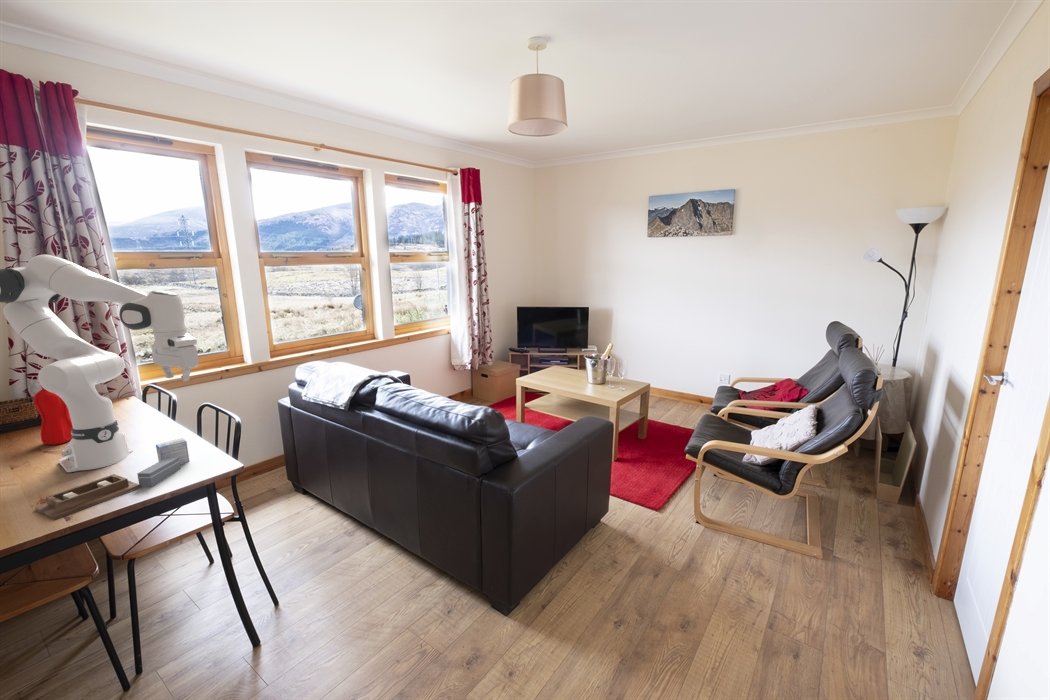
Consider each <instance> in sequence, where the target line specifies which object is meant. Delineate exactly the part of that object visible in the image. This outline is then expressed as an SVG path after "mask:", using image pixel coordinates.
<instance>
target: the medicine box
mask: <svg viewBox="0 0 1050 700" xmlns="http://www.w3.org/2000/svg"><path fill="white" fill-rule="evenodd" d="M155 448H156V454H157V459H158V462H160V461H161V460H163V459H165V458H167V457H179V461H180V465H183V464H186V463H189V462H190V455H189V448H188V441H187V440H186V439H184V438H177V439H174V440H169V441H165V442H161V443H157V444H156V445H155Z"/></svg>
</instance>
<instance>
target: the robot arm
mask: <svg viewBox="0 0 1050 700" xmlns="http://www.w3.org/2000/svg"><path fill="white" fill-rule="evenodd" d="M60 297H64V298H67V299H70V300H73V301H78V302H110V303H111V302H112V303H117V304H122V306H121V307H120V309H119V311H118V312H119V313H118V314H119V315H118V316H119V320H120V322H121V324H122V325H123V326H124V327H125V328H127V329H129V330H131V331H144V330H153V338H154V341H153V344H152V345H151V346H152V347H151V353H152V354H151V355H152V361H153V364H154V365H156V366H157V365H158V366H160V367H161V369H162V371H163V373H164V375H165V378H166V379H172V378H174V372H173V371H172V369H171V368H179V369H180V370H181V371H182V375H180V378H181V381H184V382H187V381H191V380H190V379H191V378H190V377H191V376H190V375H191V371H192V369H195V368H197V367H198V366H199V356H198V355H199V354H198V353H199V352H198V349H197V347H196V346H197V344H198V341H197V338H196V337H195V336H192V335H191V334H190V333H188V330H187V326H186V324H185V318H186V317H185V310H184V306H183V301H182V298H181V297H180V295H179V294H178V293H176V292H174V291H171V290H159V289H158V290H152V291H151V290H150V291H149V292H148V293H146V292H144V291H141V290H139V289H136V288H134V287H131V286H129V285H126V284H123V283H121V282H119V281H116V280H113V279H110V278H108V277H105V276H103V275H101V274H99V273H96V272H94V271H91V270H90V269H87V268H85V267H84V266H83V267H82V266H81V265H79V264H77V263H74V262H72V261H71V260H70V261H69V260H67V259H64V258H62V257H59V256H55V255H51V254H38V255H35V256H33V257H32V258H30V259H29V261H28V262H27V263H26V266H18V267H11V268H10V267H9V268H0V303H2V304H3V303H6V304H5V306H4V307H3V310H2V313H3V316H4V317H5V319H6V320H7V322H8V323H9V325H10V326H11V328H12V329H13V330H14V332H16V334H18V336H19V337H21V338H22V339H23V340H24V341H25V343H26V344H28V345H29V346H30V347H31V348H32V349H33V350H34V351H35V352H36V353H37V354H39V356H43V357H45V358H46V357H47V358H51V359H55V360H56V361H54V362H52V363H51V362H50V363H49V364H47V365H45V366H42V367H41V368H40V370H39V372H38V374H37V379H38V380H37V381H38V383H39V384H40V385H39V386H40V387H41V386H42V387H43V388H44V389H45V390H47V391H49V392H52V393H54V394H56V395H58V396H59V397H60V398H61V399H62V400H63V401H64V402H65V404H66V406H67V408H68V410H69V414H70V417H71V422H72V426H73V427H72V430H71V437H72V439H71V441H68V442H67V444H66V445H65V449H62V450H61V455H62V458H60V459H58V463H59V465H60V466H61V467H62V468H63V469H64V470H65V472H66V473H72V472H79V471H89V470H95V469H101V468H105V467H108V466H112V465H115V464H119V463H120V462H122V461H123V460H126V458H127V457H129V455H131V454H132V453H134V449H132V448H129V446H128V443H127V438H126V436H125V433H124V432H122V431H119V430H120V429H119V423H118V420H117V419H116V416H115V411H114V406H113V402H112V400H111V398H109V397H108V396H107V397H106V396H104V395H101V394H100V393H99V391H97V388H96V385H99V384H103V383H106V382H109V381H112V380H113V379H115V378H117V377H119V376H121V375H122V373H124V371H125V362H124V359H123V358H122V357H121V356H119V354H117V353H115V352H112V351H107V350H104V349H101V348H99V347H97V346H95V345H94V344H91V343H89V342H87V341H86V340H85V339H83V338H81V336H78V335H77V334H76V333H75V332H74V331H73V330H72V329H71V328H69V326H67V325H66V323H65V322H64V321H62V319H61V318H59V316H58V315H56V314H55V312H53V311H52V309H51V308H50V307H49V306H50V305H49V303H53V304H54V303H56V302H58V301H59V300H60ZM42 387H41V388H42Z"/></svg>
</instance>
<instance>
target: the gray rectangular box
mask: <svg viewBox="0 0 1050 700" xmlns="http://www.w3.org/2000/svg"><path fill="white" fill-rule="evenodd" d="M180 470H181V464H180V461H179V457H167V458H165V459H163V460H161V461H160V462H159V461H158V462H156V463H154V464H152V465H150V466H148V467H147V468H145V469H143V470H141V471H139V472H138V473H137V479H138V480H137V481H138V484H139V485H140V488H153V487H155V486H157V485H158V484H159V483H160V482H161V483H162V482H163V481H164V480H166V479H167V478H168V477H171V476H172V475H174V474H175V473H176V472H178V471H180Z"/></svg>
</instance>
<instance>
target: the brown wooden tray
mask: <svg viewBox="0 0 1050 700" xmlns="http://www.w3.org/2000/svg"><path fill="white" fill-rule="evenodd" d="M140 488H141V487H140V485H139V483H136V482H133V481H131V480H128V478H126V477H124V476H121V475H118V474H115V473H114V474H110V475H107V476H104V477H102V478H98V479H95V480H92V481H90V482H87V483H84V484H81V485H78V486H74V487H73V488H70V489H67V490H66V489H65V490H63V491H60V492H57V493H54V494H51V495H49V496H45V500H46V502H45V503H43V504H39V505H37V506H34V508H35V511H37V512H39V513H41V514H43V515H45V516H47V517H49V518H51V519H53V520H57V519H61V518H63V517H66V516H69V515H70V514H71V515H72V514H73V513H76V512H79V511H83V510H84V509H88V508H90V507H93V506H96V505H98V504H100V503H103V502H105V501H109V500H111V499H115V498H117V497H120V496H122V495H125V494H127V493H130V492H132V491H135V490H138V489H140Z"/></svg>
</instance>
